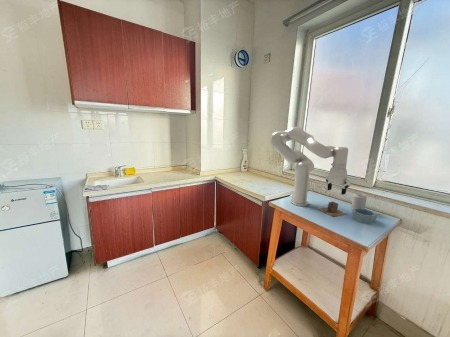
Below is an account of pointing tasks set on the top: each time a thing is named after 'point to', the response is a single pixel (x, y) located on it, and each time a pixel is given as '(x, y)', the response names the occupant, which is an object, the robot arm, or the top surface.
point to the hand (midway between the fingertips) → (336, 192)
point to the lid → (332, 210)
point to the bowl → (364, 215)
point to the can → (359, 201)
